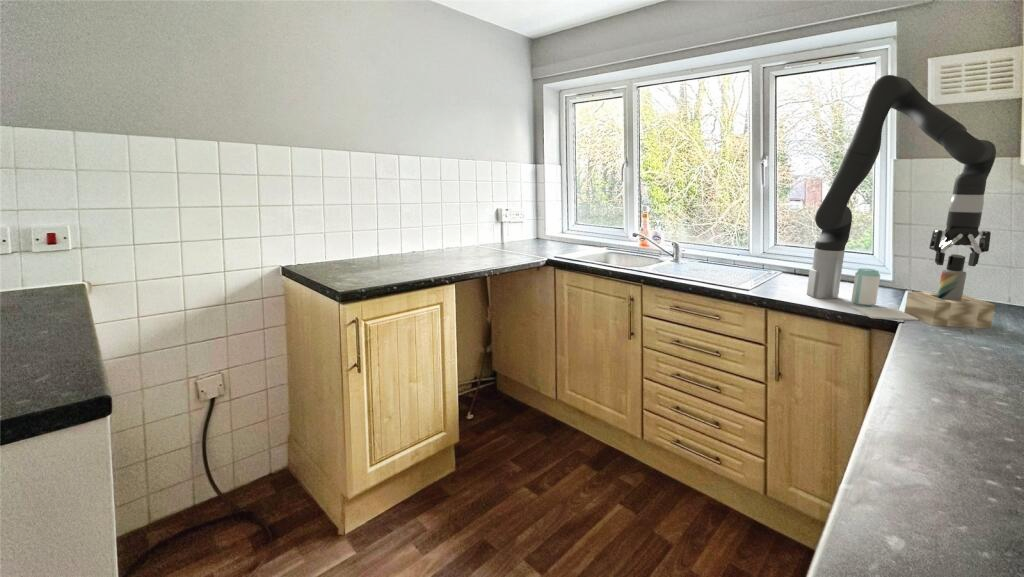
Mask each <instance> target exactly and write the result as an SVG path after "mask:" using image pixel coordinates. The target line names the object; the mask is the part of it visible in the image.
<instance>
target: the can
mask: <svg viewBox="0 0 1024 577" xmlns="http://www.w3.org/2000/svg"><path fill="white" fill-rule="evenodd" d="M880 280H881V274H880V272H879V270H878V269H874V268H866V267H865V268H862V267H861V268H857V271H856V272H855V275H854V280H853V286H852V293H851V300H850V301H851V302H852V303H853V304H854V305H857V306H861V307H873V306H874V305H876V304H877V298H878V292H879V287H880Z"/></svg>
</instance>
